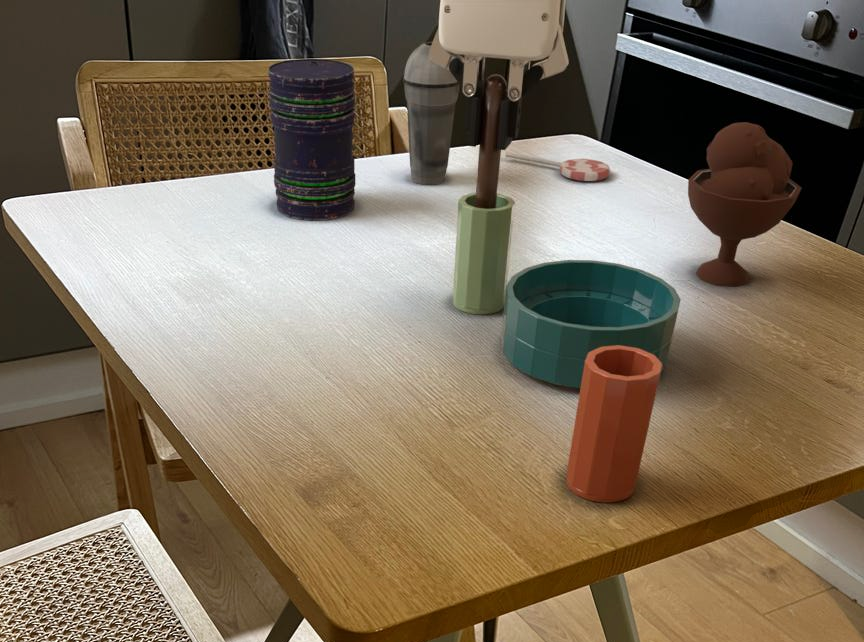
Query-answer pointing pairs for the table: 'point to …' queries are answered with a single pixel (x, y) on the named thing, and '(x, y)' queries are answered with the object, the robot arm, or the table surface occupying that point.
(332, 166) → the storage jar
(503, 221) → the rinse cup
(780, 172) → the ice cream bowl
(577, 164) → the lollipop
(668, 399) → the table surface
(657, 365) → the utensil cup
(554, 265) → the mixing bowl
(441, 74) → the beverage cup
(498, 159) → the stirring stick
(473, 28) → the robot arm
